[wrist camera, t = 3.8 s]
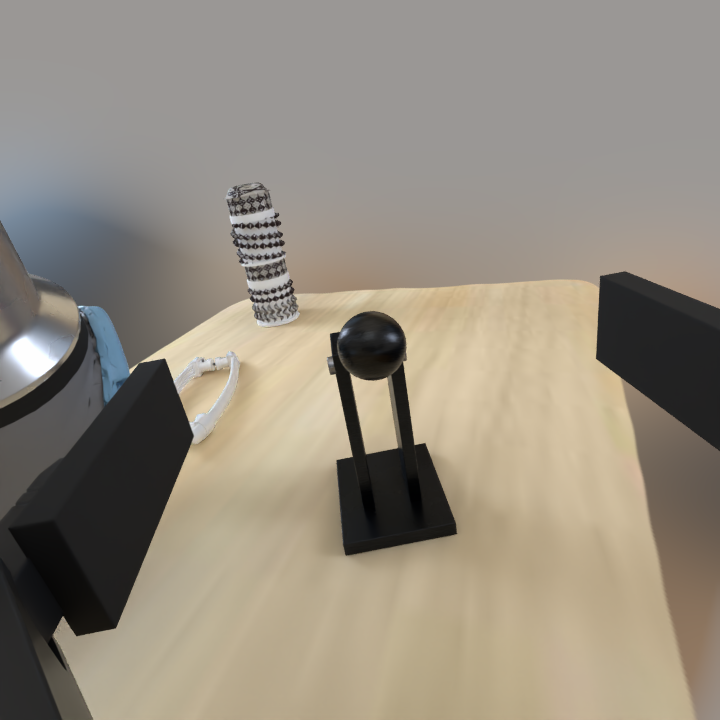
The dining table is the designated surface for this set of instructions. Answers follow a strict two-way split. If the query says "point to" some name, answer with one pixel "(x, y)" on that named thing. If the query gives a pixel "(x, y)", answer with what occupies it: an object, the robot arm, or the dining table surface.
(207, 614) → the dining table surface
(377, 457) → the bracket
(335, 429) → the dining table surface
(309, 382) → the dining table surface
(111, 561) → the robot arm
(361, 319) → the lever
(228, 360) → the door handle
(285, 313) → the decorative candle
